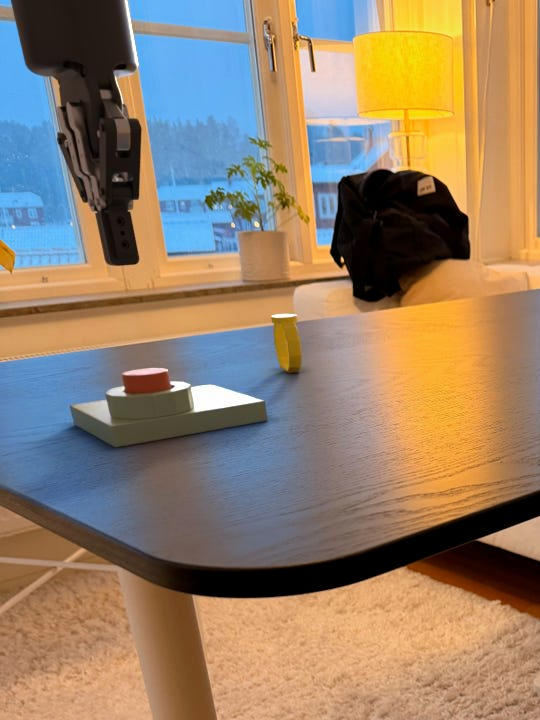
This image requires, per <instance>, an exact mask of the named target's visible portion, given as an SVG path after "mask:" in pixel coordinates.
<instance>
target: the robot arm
mask: <svg viewBox="0 0 540 720" xmlns="http://www.w3.org/2000/svg"><path fill="white" fill-rule="evenodd" d="M10 3H11V8H12V12H13V17H14V20H15V21H14V22H15V26H16V30H17V34H18V38H19V39H18V40H19V43H20V47H21V52H22V56H23V61H24V64H25V67H26V68H27V70H29V71H30V72H31V73H33V74H34V75H38V76H41V77H45V78H48V77H49V78H50V77H51V78H53V79H55V80H56V81H57V83H58V91H59V101H60V105H57V107H56V112H57V113H56V114H57V118H58V122H59V127H60V130H61V131H58V132H57V134H56V135H57V137H56V142H57V144H58V146H59V148H60V151H61V153H62V156H63V158H64V160H65V163H66V165H67V167H68V170H69V173H70V175H71V178H72V180H73V182H74V185H75V187H76V189H77V191H78V194H79V197H80V199H81V201H82V202H83V203H84V204H86V203H87V205H88V206H89V209H90V211H91V212H94V215H95V219H96V226H97V229H98V234H99V239H100V244H101V248H102V249H101V250H102V253H103V259H104V261H105V263H106V264H107V265H109V266H113V267H116V266H117V267H122V266H135V265H137V264H138V263H139V262H140V254H139V249H138V243H137V239H136V234H135V230H134V229H135V228H134V224H133V219H132V212H131V211H132V210H134V203H135V202H134V201H138V200H139V199H140V184H141V156H142V155H141V154H142V130H143V129H142V126H141V123H140V121H139V119H138V118H137V117H136V118H135V117H130V115H129V110H128V107H127V104H126V103H125V102H123V101H124V100H123V96H122V92H121V90H120V87H119V83H118V81H117V79H119V78H125V77H129V76H132V75H134V74H135V73H137V71H138V69H139V60H138V56H137V50H136V49H137V48H136V44H135V39H134V32H133V28H132V27H133V26H132V21H131V15H130V9H129V4H128V0H10Z"/></svg>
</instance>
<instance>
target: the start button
mask: <svg viewBox="0 0 540 720" xmlns="http://www.w3.org/2000/svg"><path fill="white" fill-rule="evenodd" d="M121 377H122V382H123V386H124V387H125V392H126V393H131V394H139V393H153V392H159V391H165V390H169V389H172V388H171V383H170V381H171V379H170V373H169V370H168V369H167V368H162V367H148V368H146V367H145V368H138V369H132V370H128V371H123V372H122V373H121Z"/></svg>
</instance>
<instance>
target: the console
mask: <svg viewBox="0 0 540 720" xmlns="http://www.w3.org/2000/svg"><path fill="white" fill-rule="evenodd" d="M170 383H171V388H172V389H169V390H165V391H159V392H153V393H139V394H131V393H126V392H125V387H124V385H121V386H118V387H113V388H111V389H109V390H107V391H106V392H105V398H106V399H102V400H95V401H90V402H83V403H76V404H70V405H69V409H70V414H71V418H72V422H73V424H74V426H76V427H78V428H80V429H82V430H83V431H85V432H87V433H89V434H90V435H92V436H94V437H96V438H98V439H99V440H101V441H103V442H104V443H106V444H108V445H110V446H112V447H114V448H123V447H127V446H133V445H138V444H139V445H140V444H144V443H150V442H156V441H161V440H166V439H172V438H173V439H174V438H178V437H183V436H188V435H194V434H199V433H200V434H201V433H205V432H212V431H218V430H223V429H229V428H233V427H239V426H240V427H241V426H245V425H246V426H247V425H251V424H257V423H261V422H267V421H268V413H267V407H266V401H265V400H263V399H260V398H256V397H253V396H250V395H247V394H244V393H241V392H237V391H234V390H231V389H228V388H224V387H221V386H218V385H214V384H211V383H210V384H204V385H196V386H192V385H191V384H190V383H187V382H184V381H174V380H173V381H172V380H170Z"/></svg>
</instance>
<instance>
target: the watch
mask: <svg viewBox="0 0 540 720" xmlns="http://www.w3.org/2000/svg"><path fill="white" fill-rule="evenodd" d="M270 317H271V323H272V324H273V342H274V343H273V344H274V349H275V353H276V354H275V355H276V357H277V361H278V363H279V366H280V369H283V370H284V371H285V372H287V373H288V374H291V373H292V374H293V373H300V371H301V368H302V364H303V360H302V359H303V358H302V357H303V352H302V345H301V338H300V335H299V330H298V327H297V325H296V323H297V322H298V315H297V314H295V313H280V314H274V315H271V316H270Z"/></svg>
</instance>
